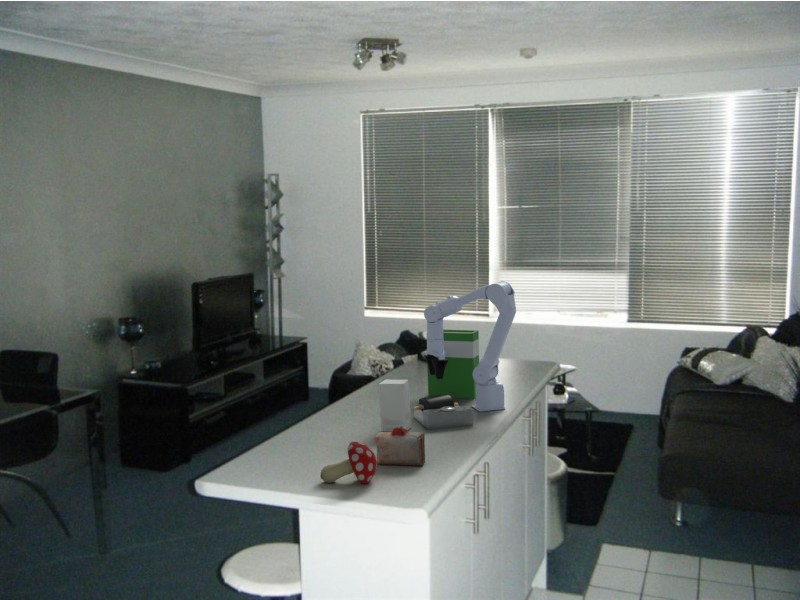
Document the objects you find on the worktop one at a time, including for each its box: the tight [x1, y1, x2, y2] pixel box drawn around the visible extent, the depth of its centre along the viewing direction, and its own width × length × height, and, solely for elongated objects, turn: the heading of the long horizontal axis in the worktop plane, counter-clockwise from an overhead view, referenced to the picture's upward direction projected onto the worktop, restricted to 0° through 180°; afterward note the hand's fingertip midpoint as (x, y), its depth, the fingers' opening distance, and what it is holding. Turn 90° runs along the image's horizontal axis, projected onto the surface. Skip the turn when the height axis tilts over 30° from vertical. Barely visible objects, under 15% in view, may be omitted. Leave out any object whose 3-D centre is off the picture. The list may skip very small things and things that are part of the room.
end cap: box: [418, 395, 455, 412], centre depth 267 cm, size 10×7×7 cm
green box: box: [426, 328, 480, 400], centre depth 296 cm, size 18×7×24 cm, turn 69°
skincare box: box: [378, 378, 412, 432], centre depth 252 cm, size 8×7×16 cm
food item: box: [374, 425, 426, 467], centre depth 219 cm, size 14×8×10 cm, turn 77°
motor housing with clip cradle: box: [413, 402, 474, 430], centre depth 261 cm, size 15×16×6 cm
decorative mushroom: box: [320, 441, 377, 484], centre depth 204 cm, size 11×11×15 cm
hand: (436, 376), depth 283 cm, fingers open, 7 cm apart
